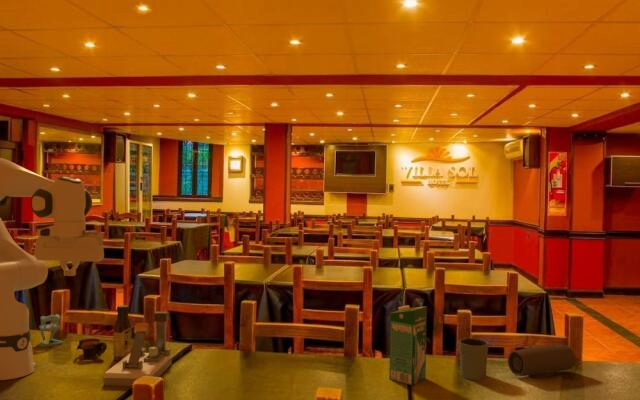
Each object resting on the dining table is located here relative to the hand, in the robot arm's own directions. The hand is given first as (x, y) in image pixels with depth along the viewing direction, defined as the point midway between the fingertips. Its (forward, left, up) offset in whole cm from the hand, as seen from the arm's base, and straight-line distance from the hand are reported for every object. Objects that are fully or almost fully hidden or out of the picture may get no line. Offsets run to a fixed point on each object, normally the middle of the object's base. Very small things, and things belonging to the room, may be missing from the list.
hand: (69, 275), depth 165 cm
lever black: (+7, +33, -32) cm, 47 cm away
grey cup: (+111, +72, -37) cm, 137 cm away
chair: (-52, +37, -37) cm, 74 cm away
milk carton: (+91, +59, -37) cm, 115 cm away
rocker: (-1, +31, -32) cm, 44 cm away
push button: (+8, +28, -33) cm, 44 cm away
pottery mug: (-23, +31, -37) cm, 53 cm away
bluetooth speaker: (+133, +83, -37) cm, 161 cm away
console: (+6, +24, -37) cm, 45 cm away
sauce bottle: (-11, +34, -37) cm, 52 cm away
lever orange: (+8, +18, -32) cm, 38 cm away
